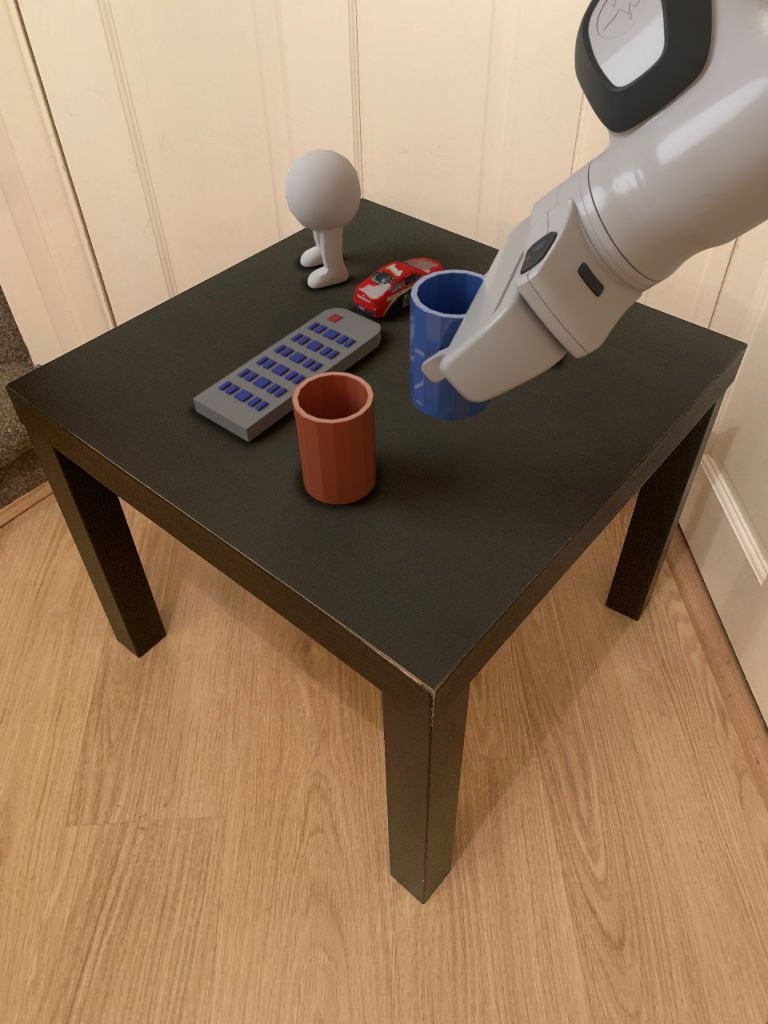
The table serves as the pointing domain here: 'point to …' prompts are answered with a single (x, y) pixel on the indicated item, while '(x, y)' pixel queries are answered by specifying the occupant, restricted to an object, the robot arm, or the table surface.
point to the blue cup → (439, 339)
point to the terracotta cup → (336, 436)
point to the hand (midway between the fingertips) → (445, 340)
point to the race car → (392, 286)
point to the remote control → (287, 371)
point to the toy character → (323, 209)
